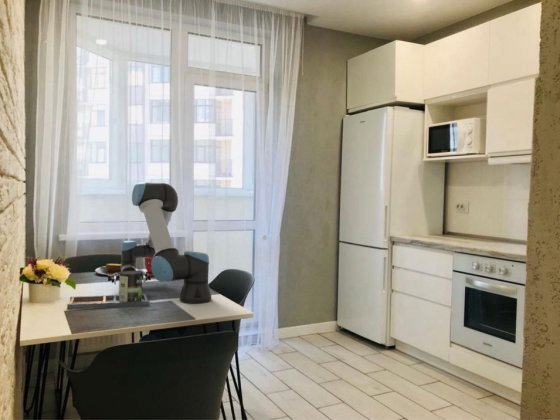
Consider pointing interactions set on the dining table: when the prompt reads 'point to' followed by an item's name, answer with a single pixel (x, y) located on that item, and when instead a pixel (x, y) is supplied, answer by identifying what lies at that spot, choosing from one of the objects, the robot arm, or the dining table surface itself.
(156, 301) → the dining table surface
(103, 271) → the food on plate
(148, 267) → the plant pot
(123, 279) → the coffee can
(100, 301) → the gray rectangular tray
